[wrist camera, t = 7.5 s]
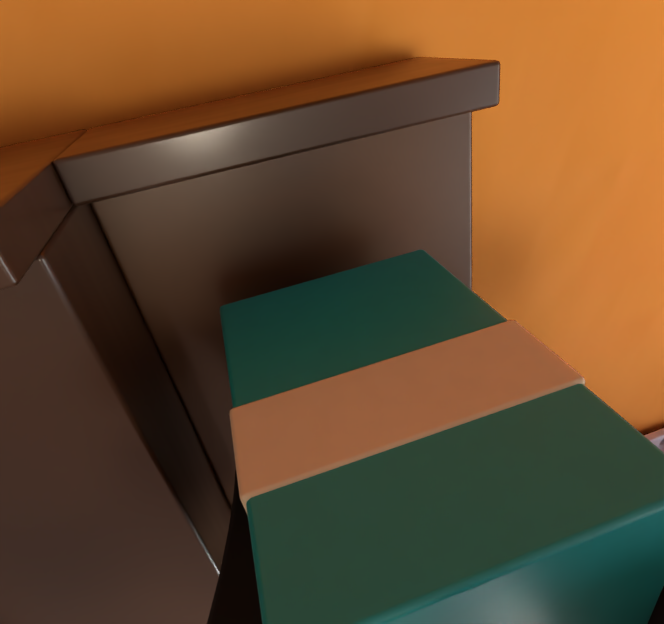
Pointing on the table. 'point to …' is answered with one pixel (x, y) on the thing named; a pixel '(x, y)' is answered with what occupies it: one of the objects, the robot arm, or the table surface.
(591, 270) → the table surface
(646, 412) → the table surface
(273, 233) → the step shelf
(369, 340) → the block
